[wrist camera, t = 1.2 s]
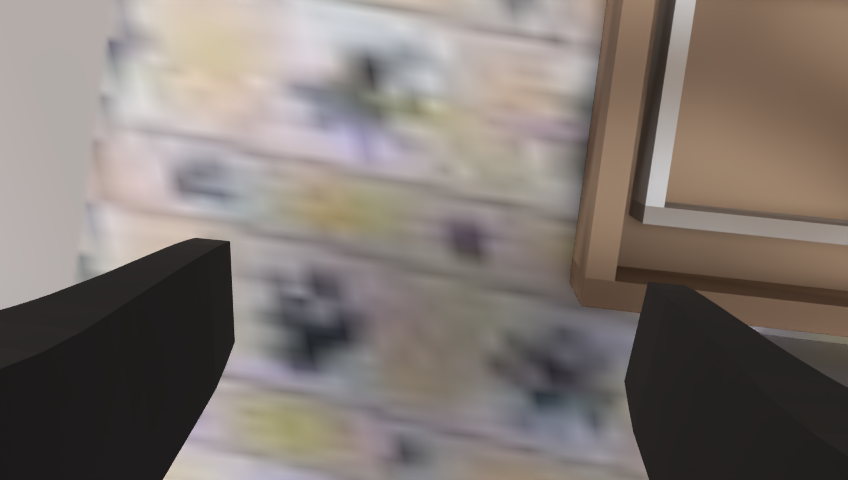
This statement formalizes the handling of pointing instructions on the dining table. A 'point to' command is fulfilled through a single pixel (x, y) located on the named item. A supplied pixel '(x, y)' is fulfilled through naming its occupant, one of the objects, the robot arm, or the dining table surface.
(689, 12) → the box
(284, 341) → the dining table surface
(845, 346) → the grey rectangular block
